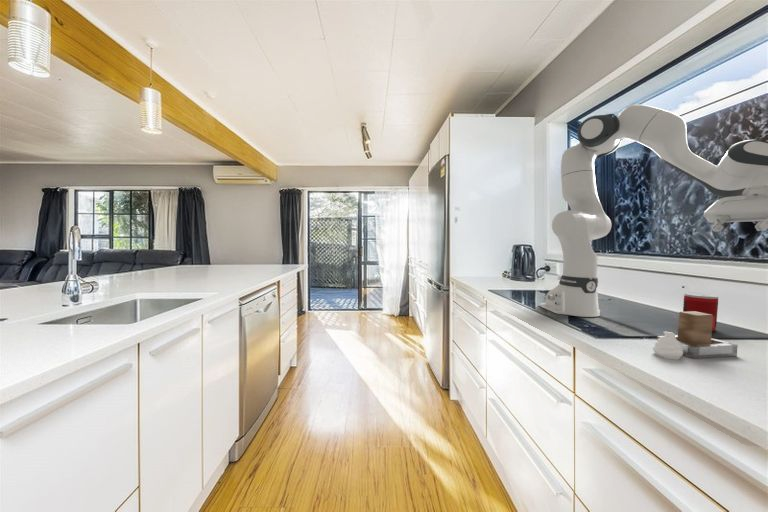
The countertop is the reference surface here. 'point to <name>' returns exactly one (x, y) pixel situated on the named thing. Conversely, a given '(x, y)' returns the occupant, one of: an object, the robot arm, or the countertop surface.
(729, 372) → the countertop surface
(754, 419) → the countertop surface
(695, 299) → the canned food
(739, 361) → the countertop surface
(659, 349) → the garlic bulb
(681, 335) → the brown rectangular block
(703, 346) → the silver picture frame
